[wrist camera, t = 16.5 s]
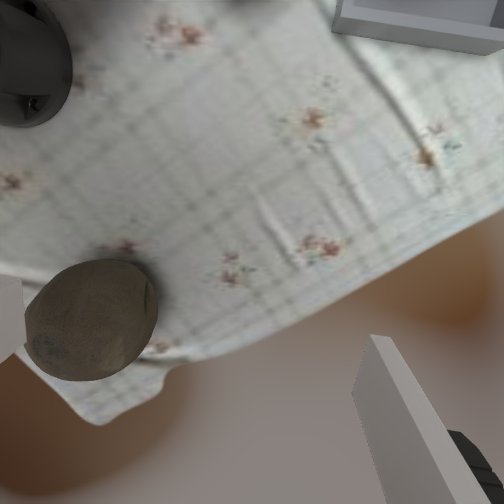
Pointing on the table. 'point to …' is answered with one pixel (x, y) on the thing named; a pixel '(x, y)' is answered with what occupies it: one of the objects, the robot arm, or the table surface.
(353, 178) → the table surface
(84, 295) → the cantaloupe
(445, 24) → the grey divided tray
